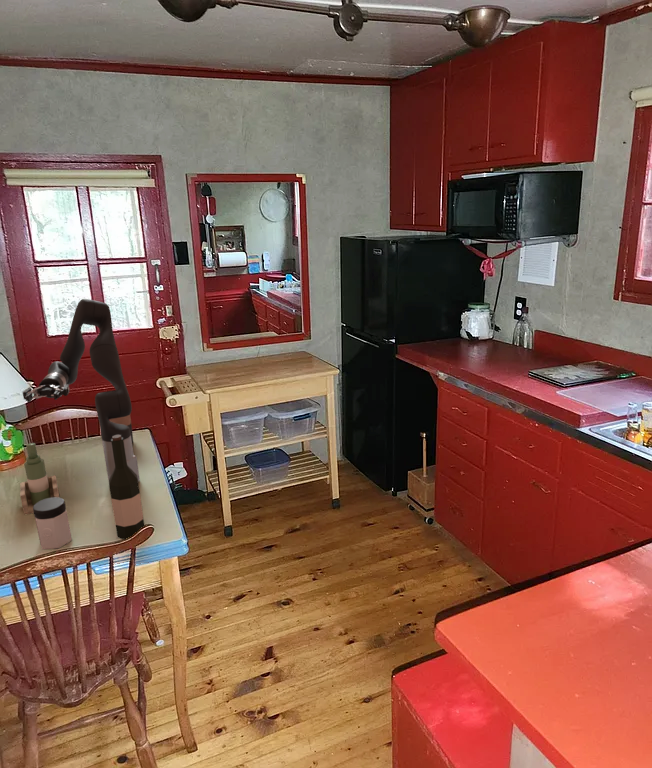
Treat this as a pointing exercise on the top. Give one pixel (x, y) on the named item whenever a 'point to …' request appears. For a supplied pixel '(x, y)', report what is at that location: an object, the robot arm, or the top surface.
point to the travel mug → (124, 423)
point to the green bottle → (36, 475)
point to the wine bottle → (124, 493)
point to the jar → (52, 523)
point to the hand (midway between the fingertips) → (41, 398)
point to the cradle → (27, 497)
